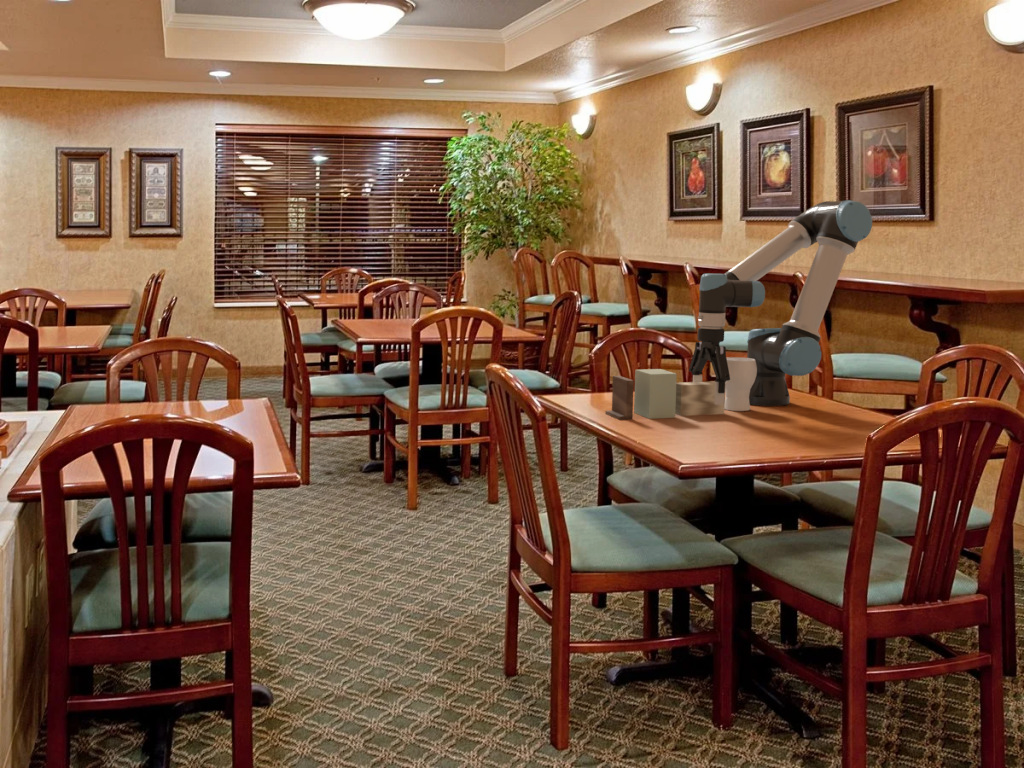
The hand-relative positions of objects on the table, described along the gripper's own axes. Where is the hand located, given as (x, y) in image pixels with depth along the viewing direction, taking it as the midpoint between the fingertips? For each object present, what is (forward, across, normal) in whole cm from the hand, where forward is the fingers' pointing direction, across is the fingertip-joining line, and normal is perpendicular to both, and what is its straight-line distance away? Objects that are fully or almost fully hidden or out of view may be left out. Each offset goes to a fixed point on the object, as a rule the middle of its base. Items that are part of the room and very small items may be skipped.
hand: (707, 400), depth 308 cm
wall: (+4, 0, -27) cm, 27 cm away
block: (+4, 0, -17) cm, 17 cm away
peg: (+4, 0, -3) cm, 5 cm away
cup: (+4, -4, +12) cm, 14 cm away
